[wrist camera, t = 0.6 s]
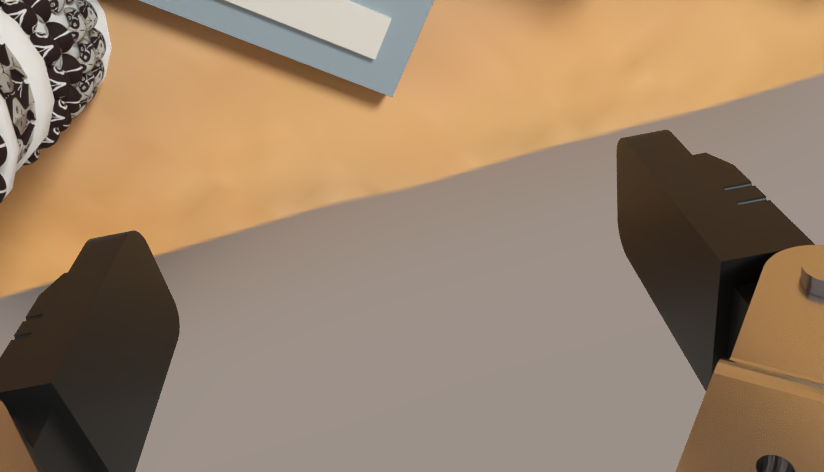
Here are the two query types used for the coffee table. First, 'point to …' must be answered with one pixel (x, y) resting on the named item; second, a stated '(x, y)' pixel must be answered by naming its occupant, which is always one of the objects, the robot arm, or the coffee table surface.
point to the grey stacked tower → (46, 74)
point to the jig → (321, 32)
